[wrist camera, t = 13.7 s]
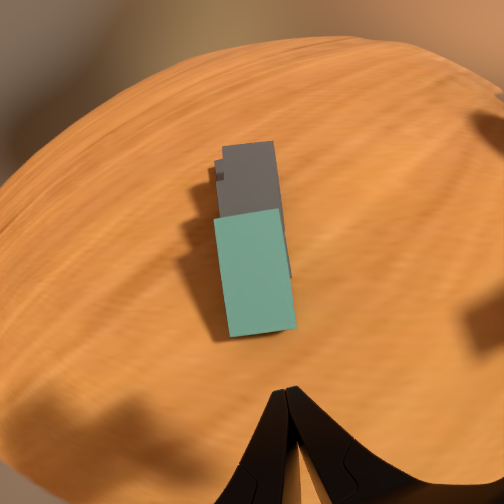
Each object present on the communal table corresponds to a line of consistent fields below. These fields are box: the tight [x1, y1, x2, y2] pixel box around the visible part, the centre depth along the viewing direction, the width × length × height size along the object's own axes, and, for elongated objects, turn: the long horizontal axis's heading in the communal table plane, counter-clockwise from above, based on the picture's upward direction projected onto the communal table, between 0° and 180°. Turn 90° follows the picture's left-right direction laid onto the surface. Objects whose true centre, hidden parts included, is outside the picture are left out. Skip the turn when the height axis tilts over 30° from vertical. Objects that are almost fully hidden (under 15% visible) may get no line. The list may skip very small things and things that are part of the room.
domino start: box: [214, 208, 297, 337], centre depth 22 cm, size 2×5×9 cm
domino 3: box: [222, 141, 285, 232], centre depth 27 cm, size 2×5×9 cm
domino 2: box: [216, 172, 292, 278], centre depth 24 cm, size 2×5×9 cm
